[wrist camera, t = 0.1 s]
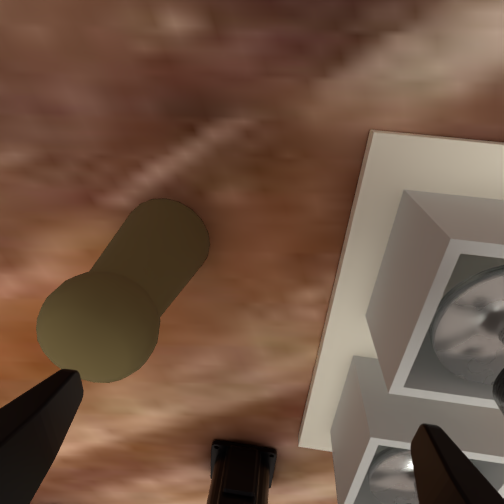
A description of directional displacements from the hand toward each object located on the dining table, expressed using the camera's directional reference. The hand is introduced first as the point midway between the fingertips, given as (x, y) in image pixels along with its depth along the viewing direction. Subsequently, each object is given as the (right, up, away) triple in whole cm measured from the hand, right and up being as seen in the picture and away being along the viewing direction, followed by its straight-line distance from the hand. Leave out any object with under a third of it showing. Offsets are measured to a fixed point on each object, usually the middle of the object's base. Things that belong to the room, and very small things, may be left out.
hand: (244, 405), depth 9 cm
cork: (-6, +5, +15) cm, 17 cm away
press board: (+13, -2, +16) cm, 21 cm away
